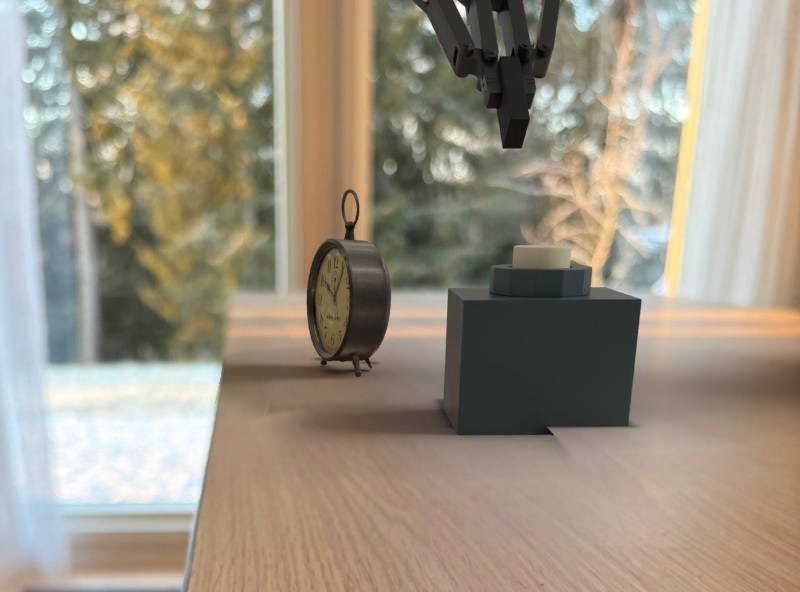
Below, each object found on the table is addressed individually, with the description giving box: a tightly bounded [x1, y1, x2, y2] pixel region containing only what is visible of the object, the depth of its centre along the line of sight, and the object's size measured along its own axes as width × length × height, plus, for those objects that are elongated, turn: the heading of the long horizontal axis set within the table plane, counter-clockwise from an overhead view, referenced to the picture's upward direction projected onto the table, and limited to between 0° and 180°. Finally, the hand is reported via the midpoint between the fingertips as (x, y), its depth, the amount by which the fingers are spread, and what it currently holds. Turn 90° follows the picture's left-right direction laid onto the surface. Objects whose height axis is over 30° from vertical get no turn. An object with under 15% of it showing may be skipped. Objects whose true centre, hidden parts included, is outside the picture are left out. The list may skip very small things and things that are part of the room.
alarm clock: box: [305, 188, 392, 378], centre depth 99 cm, size 11×5×16 cm, turn 22°
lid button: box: [512, 244, 572, 269], centre depth 75 cm, size 4×4×2 cm
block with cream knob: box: [442, 263, 643, 436], centre depth 77 cm, size 12×10×11 cm
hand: (516, 134), depth 79 cm, fingers closed
